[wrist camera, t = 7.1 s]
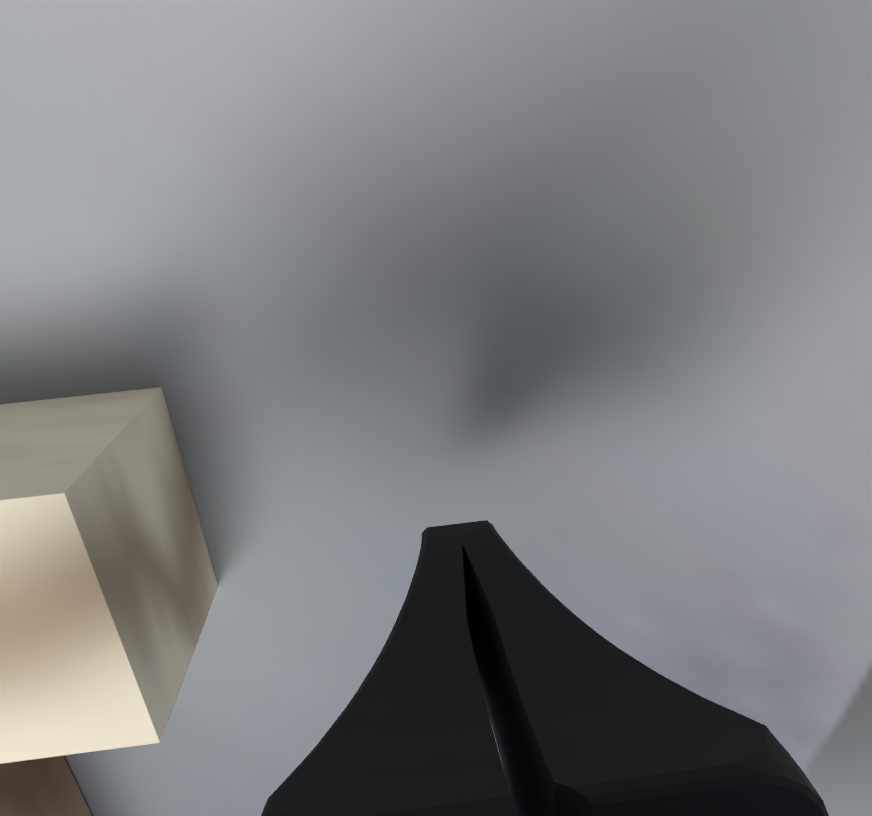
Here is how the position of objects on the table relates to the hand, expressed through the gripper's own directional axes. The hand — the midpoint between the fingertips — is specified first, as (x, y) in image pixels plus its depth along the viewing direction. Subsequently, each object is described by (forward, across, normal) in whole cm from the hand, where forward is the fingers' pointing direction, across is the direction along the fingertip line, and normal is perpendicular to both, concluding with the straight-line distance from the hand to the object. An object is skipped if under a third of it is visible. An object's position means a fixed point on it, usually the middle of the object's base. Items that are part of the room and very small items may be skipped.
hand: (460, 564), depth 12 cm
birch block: (+4, +10, 0) cm, 10 cm away
